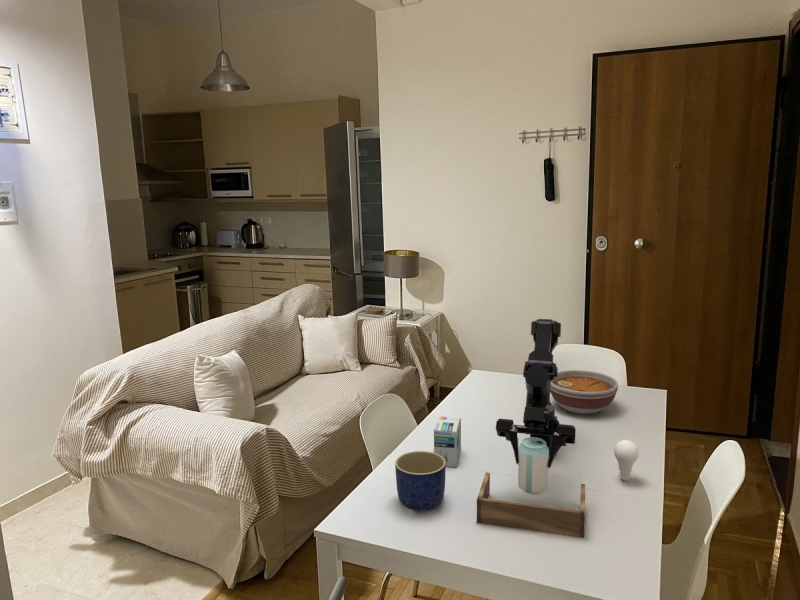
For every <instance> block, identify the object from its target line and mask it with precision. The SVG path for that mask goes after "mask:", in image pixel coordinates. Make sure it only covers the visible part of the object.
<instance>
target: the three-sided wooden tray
mask: <svg viewBox="0 0 800 600" xmlns="http://www.w3.org/2000/svg"><path fill="white" fill-rule="evenodd" d="M490 486H491V473H490V472H488V471H487V472H485V475H484V477H483V479H482V483H481V486H480V489H479V492H478V495H477V498H476V524H481V525H489V526H497V527H503V528H510V529H515V530H523V531H531V532H539V533H546V534H551V535H552V534H553V535H560V536H567V537H573V538H580V539H585V523H586V522H585V521H586V484H585V483H580V494H579V495H580V496H579V501H580V502H579V510H577V509H571V508H564V507H563V508H561V507H554V506H547V505H539V504H532V503H523V502H517V501H510V500H508V501H507V500H503V499H501V500H500V499H493V498H490V494H491V493H490V492H491V491H490V489H491V487H490Z"/></svg>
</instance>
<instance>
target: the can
mask: <svg viewBox="0 0 800 600" xmlns="http://www.w3.org/2000/svg"><path fill="white" fill-rule="evenodd" d="M518 451H519V458H518V464H517V466H518V467H517V468H518V469H517V471H518V473H517V487H518V488H519V489H521V490H522V491H523V492H525V494H531V495H539V494H542V493H544V492H546V491H547V490H548V488H549V469H550V468H548V461H549V448H548V447H547V445H546V441H544V440H543V439H541V438H537V437H530V436H529V437H524V438H523V439H521V443H520V445H518Z"/></svg>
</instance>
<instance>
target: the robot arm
mask: <svg viewBox="0 0 800 600" xmlns="http://www.w3.org/2000/svg"><path fill="white" fill-rule="evenodd" d="M530 324H531V325H530V326H531V327H530V335H531V336H533V338H532V339H533V343H534V348H533V349H534V350H532V351H531V352H529V353H528V358H527V361H525V362H524V367H523V372H522V374H523V376H522V377H523V378H524V380H525V389H526V397H525V398H526V399H525V406H524V412H523V416H522V417H523V418H522V421H523V425H522V424H514V419H508V418H498V419H497V420H496V423H495V430H496V435H497V437H500V438H505V440H506V441H508V442H510V444H511V447H512V449H513V453H514V454H513V455H514V459H515V463H516V465H518V458H519V437H518V434H524V435H529V437H537V438H541V439H543V440H544V441H546V445H547V447H548V448H549V461H548V468H549V469H550V468H551V467H552V464H553V462H554V460H555V458H556V456H557V454H558V452H559V450H560V449H561V447H566V444H568V445H569V444H571V445H574V444H576V427H575V426H574V425H572V424H561V423H560V421H559V420H558V416H556V415H555V412H556V411H555V405H554V404H552V403H551V392H550V387H551V381H552V379H555V377H557V374H558V372H559V368H558V366H557V363H554V354H553V351H554V350H555V348H556V347H557V346H558V344H559V338H561V337H562V324H561V323H560V322H558V320H553V319H549V318H538V319H536V320H534V321H531V323H530Z"/></svg>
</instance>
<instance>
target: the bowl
mask: <svg viewBox="0 0 800 600" xmlns="http://www.w3.org/2000/svg"><path fill="white" fill-rule="evenodd" d="M618 388H619V382H618V381H617V380H616V379H615V377H614V378H613V377H612V376H610V375H608V374H605V373H601V372H597V371H596V372H595V371H592V370H590V371H589V370H581V369H580V370H579V369H577V370H576V369H571V370H563V371H562V370H561V371H558V374H557V377H555V379H552V381H551V387H550V395H551V396H552V398H553V400H554V401H555V402H556V403H557V404H558V405H559V406H560V407H561V408H563V410H566V411H568V412H570V413H573V414H578V415H579V414H580V415H594V414H597V413H600V412H601V411H604V410H605V409H606V408H608V406H610V405H611V403H612V402H613V401H614V399H615V398H616V395H617V393H618Z"/></svg>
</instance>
